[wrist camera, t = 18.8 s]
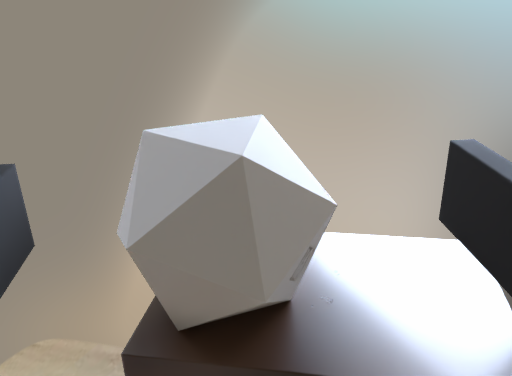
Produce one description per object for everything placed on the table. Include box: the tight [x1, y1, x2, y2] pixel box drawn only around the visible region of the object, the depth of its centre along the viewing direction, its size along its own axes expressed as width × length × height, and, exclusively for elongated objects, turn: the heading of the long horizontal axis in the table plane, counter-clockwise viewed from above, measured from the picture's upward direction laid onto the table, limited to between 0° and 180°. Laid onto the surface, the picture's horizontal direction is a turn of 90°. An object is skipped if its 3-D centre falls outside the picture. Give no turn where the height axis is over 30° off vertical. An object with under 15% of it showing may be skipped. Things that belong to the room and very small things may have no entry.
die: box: [117, 115, 337, 331], centre depth 21 cm, size 8×9×10 cm
